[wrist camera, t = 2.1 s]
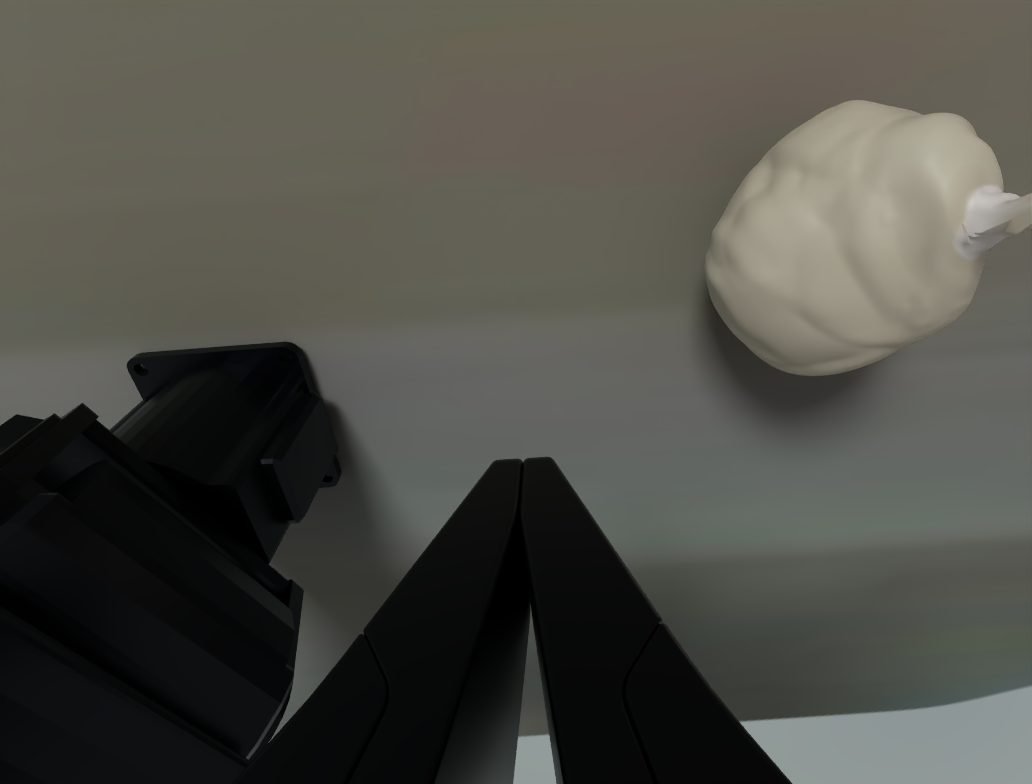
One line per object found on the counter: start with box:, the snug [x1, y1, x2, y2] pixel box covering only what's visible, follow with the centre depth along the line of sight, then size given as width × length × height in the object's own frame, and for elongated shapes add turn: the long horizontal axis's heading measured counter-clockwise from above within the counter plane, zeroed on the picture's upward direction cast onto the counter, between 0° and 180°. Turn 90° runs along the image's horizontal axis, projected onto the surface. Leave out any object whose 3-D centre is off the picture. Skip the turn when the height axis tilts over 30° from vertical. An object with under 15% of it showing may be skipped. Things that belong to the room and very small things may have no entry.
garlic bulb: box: [705, 100, 1032, 376], centre depth 14 cm, size 7×6×8 cm
